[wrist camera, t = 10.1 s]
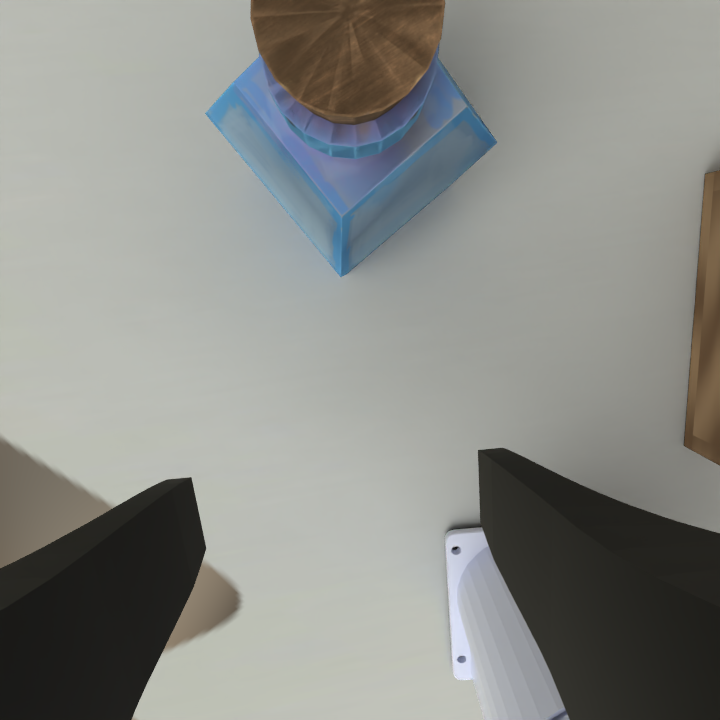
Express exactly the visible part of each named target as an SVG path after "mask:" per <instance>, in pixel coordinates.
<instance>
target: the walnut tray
mask: <svg viewBox="0 0 720 720" xmlns="http://www.w3.org/2000/svg"><path fill="white" fill-rule="evenodd" d="M684 446H685V447H687V448H689V449H691V450H692V451H694V452H696V453H698V454H700V455H702V456H703V457H705V458H707V459H709V460H711V461H713V462H714V463H716V464H718V465H720V170H719V171H715V172H712V173H708V174H705V183H704V196H703V209H702V222H701V234H700V247H699V260H698V273H697V286H696V298H695V311H694V324H693V337H692V350H691V363H690V375H689V388H688V401H687V414H686V427H685V439H684Z"/></svg>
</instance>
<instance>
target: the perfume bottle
mask: <svg viewBox="0 0 720 720" xmlns="http://www.w3.org/2000/svg"><path fill="white" fill-rule="evenodd" d="M444 8H445V0H251V22H252V26H253V30H254V34H255V38H256V42H257V46H258V50H259V57H258V58H257V59H256V60H255V61H254V62H253V63H252V64H251V65H250V66H249V67H248V68H247V69H246V70H245V71H244V72H243V73H242V74H241V75H240V76H239V77H238V78H237V79H236V80H235V81H234V82H233V83H232V84H231V85H230V87H229V88H228V89H227V90H226V91H225V92H224V93H223V94H222V95H221V96H220V98H219V99H218V100H217V101H216V102H215V103H214V104H213V105H212V106H211V108H210V109H209V110H208V111H207V112H206V113H205V114H206V115H207V116H208V117H209V119H210V120H211V121H212V122H213V124H214V125H215V126H216V127H217V128H218V130H219V131H220V132H221V133H222V134H223V136H224V137H225V138H226V139H227V140H228V142H229V143H230V144H231V145H232V146H233V148H234V149H235V150H236V151H237V152H238V154H239V155H240V156H241V157H242V158H243V160H244V161H245V162H246V163H247V165H248V166H249V167H250V168H251V169H252V171H253V172H254V173H255V174H256V175H257V177H258V178H259V179H260V180H261V181H262V183H263V184H264V185H265V186H266V187H267V189H268V190H269V191H270V192H271V193H272V195H273V196H274V197H275V198H276V199H277V201H278V202H279V203H280V204H281V205H282V207H283V208H284V209H285V210H286V212H287V213H288V214H289V215H290V216H291V218H292V219H293V220H294V221H295V222H296V224H297V225H298V226H299V227H300V228H301V230H302V231H303V232H304V233H305V234H306V236H307V237H308V238H309V239H310V240H311V242H312V243H313V244H314V245H315V246H316V248H317V249H318V250H319V251H320V253H321V254H322V255H323V256H324V257H325V259H326V260H327V261H328V262H329V263H330V265H331V266H332V267H333V268H334V269H335V271H336V272H337V273H338V274H339V275H340V277H342V276H344V275H346V274H347V273H348V272H349V271H351V270H352V269H353V268H354V267H355V266H356V265H358V264H359V263H360V262H361V261H362V260H363V259H365V258H366V257H367V256H368V255H369V254H370V253H372V252H373V251H374V250H375V249H376V248H377V247H379V246H380V245H381V244H382V243H383V242H384V241H386V240H387V239H388V238H389V237H390V236H391V235H393V234H394V233H395V232H396V231H397V230H398V229H400V228H401V227H402V226H403V225H404V224H405V223H407V222H408V221H409V220H410V219H411V218H412V217H414V216H415V215H416V214H417V213H418V212H419V211H421V210H422V209H423V208H424V207H425V206H426V205H428V204H429V203H430V202H431V201H432V200H433V199H435V198H436V197H437V196H438V195H439V194H440V193H442V192H443V191H444V190H445V189H446V188H447V187H449V186H450V185H451V184H452V183H453V182H454V181H455V180H456V179H458V178H459V177H460V176H461V175H462V174H463V173H464V172H465V171H466V170H468V169H469V168H470V167H471V166H472V165H473V164H474V163H475V162H476V161H477V160H479V159H480V158H481V157H482V156H483V155H484V154H485V153H486V152H487V151H489V150H490V149H491V148H492V147H493V146H494V145H495V144H496V143H497V141H496V140H495V138H494V137H493V136H492V134H491V133H490V131H489V130H488V128H487V127H486V126H485V124H484V123H483V121H482V120H481V118H480V117H479V116H478V114H477V113H476V111H475V110H474V108H473V107H472V106H471V104H470V103H469V101H468V100H467V98H466V97H465V96H464V94H463V93H462V91H461V90H460V88H459V87H458V86H457V84H456V83H455V81H454V80H453V78H452V77H451V76H450V74H449V73H448V71H447V70H446V68H445V67H444V66H443V64H442V63H441V61H440V60H439V58H438V51H439V42H440V39H441V34H442V25H443V17H444Z"/></svg>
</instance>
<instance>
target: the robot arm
mask: <svg viewBox="0 0 720 720" xmlns="http://www.w3.org/2000/svg"><path fill="white" fill-rule="evenodd" d="M478 462H479V493H480V523H481V526H482V527H479V528H468V529H456V530H451V531H449V532H447V534H446V535H445V552H446V569H447V586H448V603H449V620H450V637H451V654H452V669H453V674H454V677H455V678H456V679H459V680H472V679H473V682H474V685H475V689H476V693H477V696H478V700H479V704H480V707H481V711H482V714H483V718H484V720H720V533H716V532H712V531H709V530H705V529H701V528H698V527H694V526H691V525H687V524H684V523H681V522H677V521H674V520H671V519H668V518H665V517H662V516H659V515H656V514H653V513H650V512H647V511H645V510H642V509H639V508H636V507H633V506H630V505H628V504H625V503H622V502H620V501H617V500H615V499H612V498H610V497H608V496H605V495H603V494H600V493H598V492H596V491H593V490H591V489H589V488H586V487H584V486H582V485H580V484H578V483H575V482H573V481H571V480H569V479H567V478H565V477H563V476H561V475H559V474H557V473H555V472H552V471H550V470H548V469H546V468H544V467H542V466H540V465H538V464H536V463H535V462H533V461H531V460H529V459H527V458H525V457H522V456H520V455H518V454H516V453H514V452H512V451H510V450H507V449H504V448H497V449H486V450H478ZM455 546H458V547H459V548H458V549H456V550H452V548H453V547H455ZM205 551H206V545H205V540H204V536H203V531H202V526H201V521H200V517H199V512H198V507H197V502H196V497H195V493H194V488H193V483H192V478H191V477H190V478H180V479H169V480H165V481H163V482H160V483H158V484H156V485H154V486H152V487H150V488H148V489H146V490H145V491H143V492H141V493H139V494H137V495H136V496H134V497H132V498H130V499H129V500H127V501H125V502H123V503H122V504H120V505H118V506H116V507H115V508H113V509H111V510H109V511H108V512H106V513H104V514H103V515H101V516H99V517H97V518H96V519H94V520H92V521H90V522H89V523H87V524H85V525H83V526H81V527H80V528H78V529H76V530H74V531H72V532H70V533H69V534H67V535H65V536H63V537H61V538H59V539H58V540H56V541H54V542H52V543H51V544H48V545H47V546H45V547H43V548H41V549H39V550H37V551H35V552H33V553H31V554H29V555H27V556H25V557H23V558H21V559H19V560H17V561H15V562H13V563H11V564H9V565H7V566H5V567H3V568H0V720H131V719H132V717H133V714H134V712H135V709H136V707H137V705H138V702H139V700H140V698H141V696H142V693H143V691H144V689H145V687H146V684H147V682H148V680H149V678H150V676H151V674H152V672H153V670H154V668H155V666H156V664H157V662H158V660H159V658H160V656H161V654H162V652H163V650H164V648H165V646H166V643H167V641H168V639H169V637H170V635H171V633H172V631H173V629H174V627H175V625H176V623H177V621H178V619H179V617H180V615H181V612H182V611H183V608H184V606H185V604H186V602H187V600H188V598H189V596H190V594H191V591H192V589H193V587H194V584H195V581H196V578H197V576H198V572H199V570H200V567H201V563H202V560H203V557H204V554H205ZM461 655H462V656H461ZM459 656H461V657H459Z"/></svg>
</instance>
